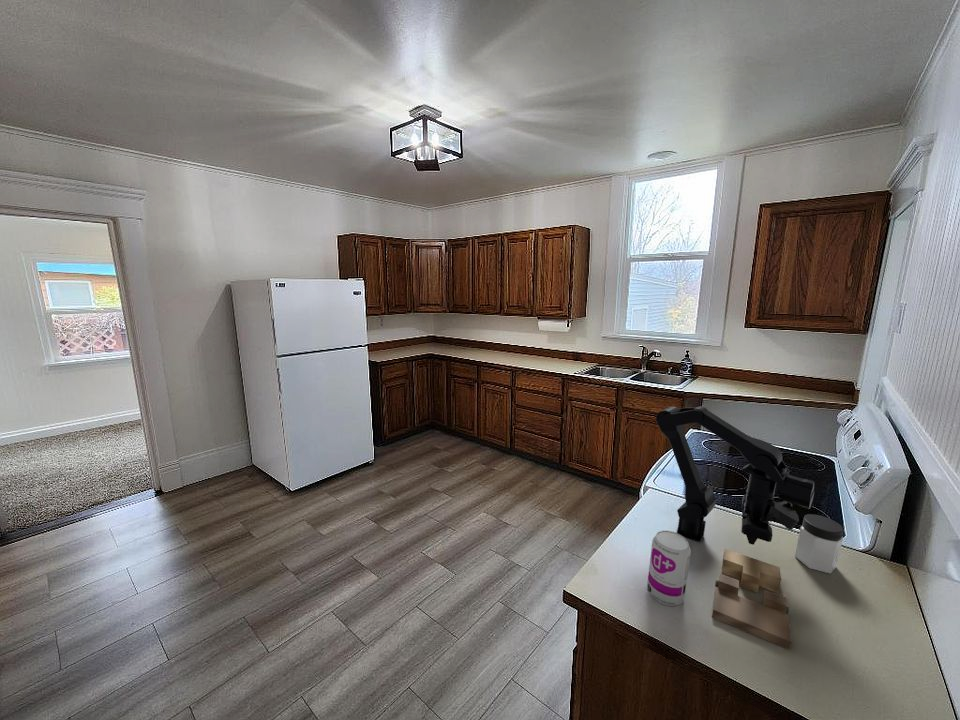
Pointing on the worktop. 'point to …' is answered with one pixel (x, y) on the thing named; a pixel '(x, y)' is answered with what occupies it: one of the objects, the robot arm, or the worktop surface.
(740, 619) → the fixed leaf
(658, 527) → the worktop surface
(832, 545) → the jar
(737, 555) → the tan block
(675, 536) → the supplement can
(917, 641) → the worktop surface
